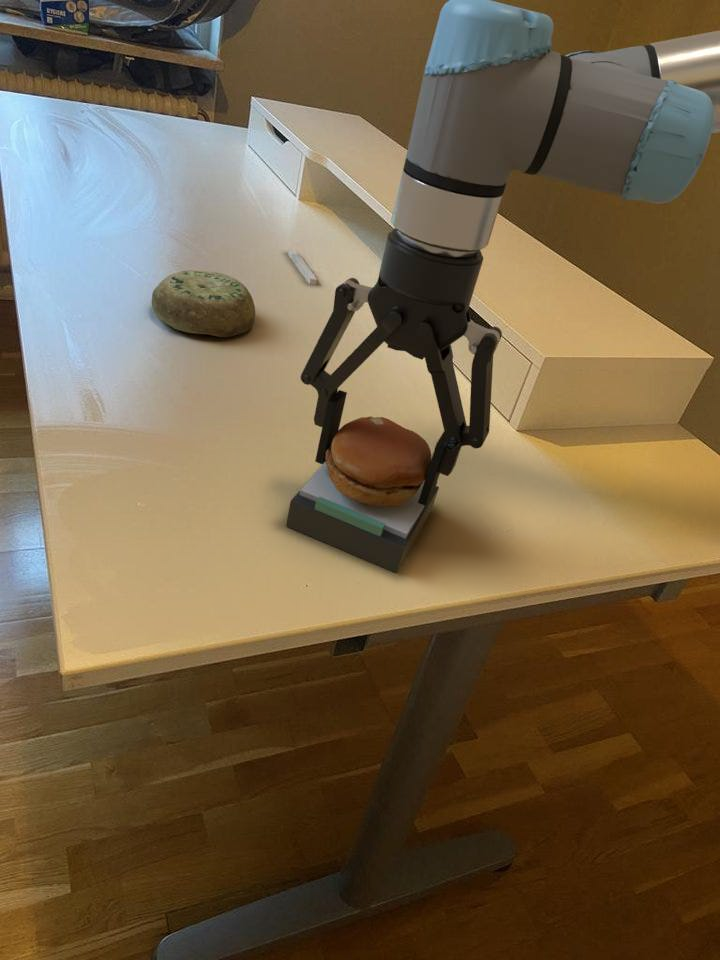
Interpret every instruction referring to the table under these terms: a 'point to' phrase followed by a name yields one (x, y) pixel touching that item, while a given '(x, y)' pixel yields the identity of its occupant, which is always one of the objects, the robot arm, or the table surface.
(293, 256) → the light grey bar
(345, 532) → the scale
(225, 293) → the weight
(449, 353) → the robot arm
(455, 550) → the table surface
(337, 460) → the burger
